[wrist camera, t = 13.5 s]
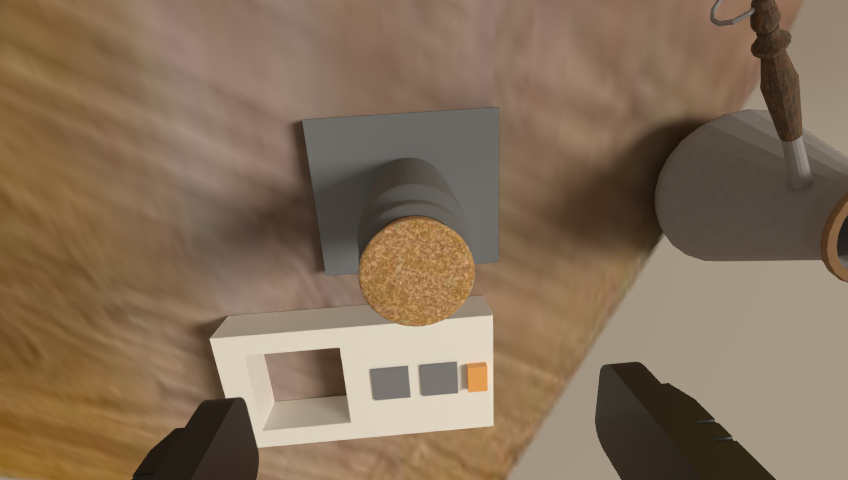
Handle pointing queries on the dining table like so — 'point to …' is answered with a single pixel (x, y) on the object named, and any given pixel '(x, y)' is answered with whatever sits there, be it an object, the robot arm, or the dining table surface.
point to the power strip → (363, 372)
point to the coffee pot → (758, 173)
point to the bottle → (414, 246)
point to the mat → (395, 139)
